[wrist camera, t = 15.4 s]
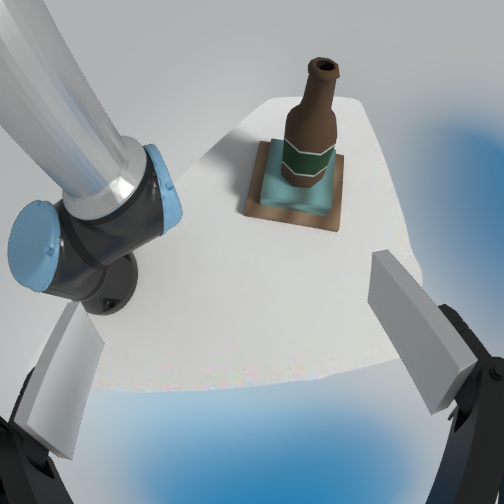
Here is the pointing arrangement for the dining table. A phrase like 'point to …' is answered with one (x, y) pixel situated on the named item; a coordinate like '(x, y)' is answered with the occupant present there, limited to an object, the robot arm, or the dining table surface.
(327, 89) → the beer bottle
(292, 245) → the dining table surface
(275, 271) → the dining table surface
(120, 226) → the robot arm
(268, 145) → the display base
